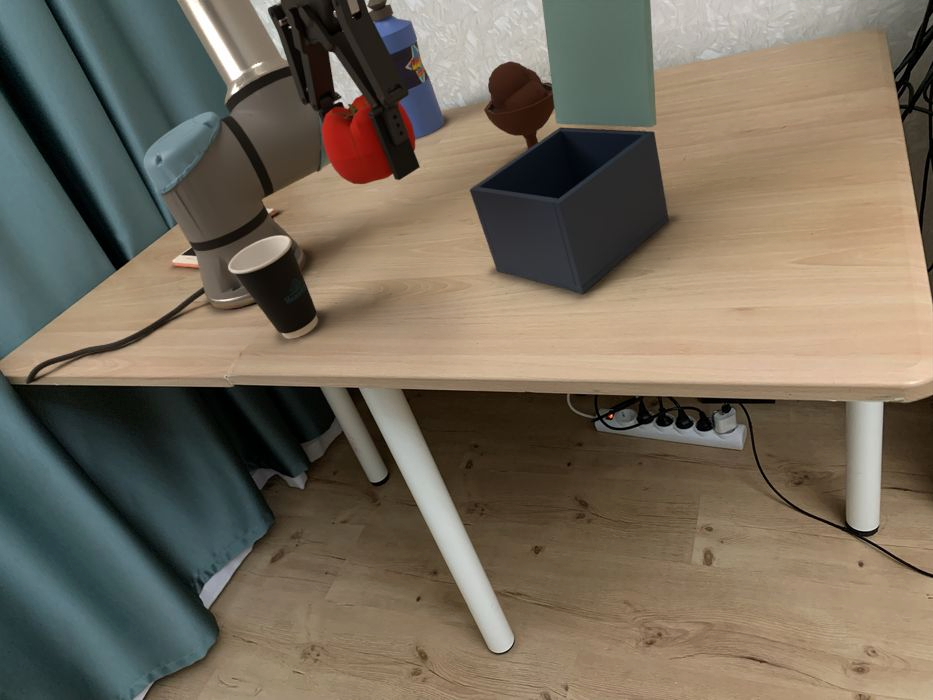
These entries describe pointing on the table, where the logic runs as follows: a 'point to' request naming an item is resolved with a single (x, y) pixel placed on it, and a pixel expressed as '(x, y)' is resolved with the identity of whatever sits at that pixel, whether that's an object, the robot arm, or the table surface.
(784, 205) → the table surface
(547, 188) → the chest
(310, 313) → the dixie cup
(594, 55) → the chest lid
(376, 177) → the tomato
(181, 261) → the cell phone
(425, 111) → the water bottle
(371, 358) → the table surface
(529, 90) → the ice cream bowl
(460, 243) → the table surface
